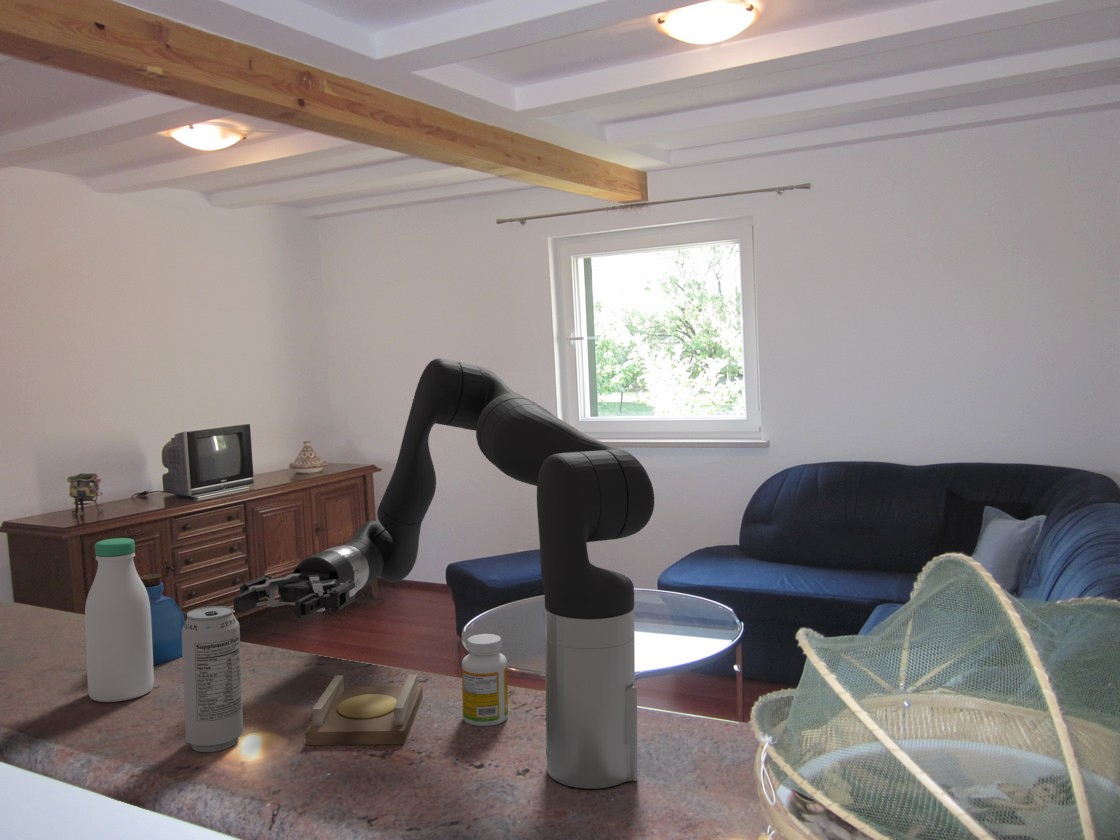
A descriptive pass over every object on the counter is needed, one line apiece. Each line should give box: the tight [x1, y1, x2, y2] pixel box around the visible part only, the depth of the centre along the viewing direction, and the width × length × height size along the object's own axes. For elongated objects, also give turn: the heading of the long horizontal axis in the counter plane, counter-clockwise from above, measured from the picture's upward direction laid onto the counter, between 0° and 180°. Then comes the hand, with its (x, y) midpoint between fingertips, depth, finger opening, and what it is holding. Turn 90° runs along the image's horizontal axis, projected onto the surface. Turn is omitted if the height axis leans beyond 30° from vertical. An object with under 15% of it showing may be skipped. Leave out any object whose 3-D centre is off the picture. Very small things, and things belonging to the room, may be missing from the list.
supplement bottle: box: [461, 633, 509, 727], centre depth 109 cm, size 5×5×10 cm
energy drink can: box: [182, 605, 244, 753], centre depth 102 cm, size 6×6×15 cm
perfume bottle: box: [139, 573, 185, 666], centre depth 132 cm, size 6×6×12 cm
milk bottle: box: [84, 537, 155, 703], centre depth 118 cm, size 8×8×20 cm
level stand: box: [305, 673, 424, 746], centre depth 109 cm, size 11×14×4 cm
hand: (267, 608), depth 113 cm, fingers open, 8 cm apart
